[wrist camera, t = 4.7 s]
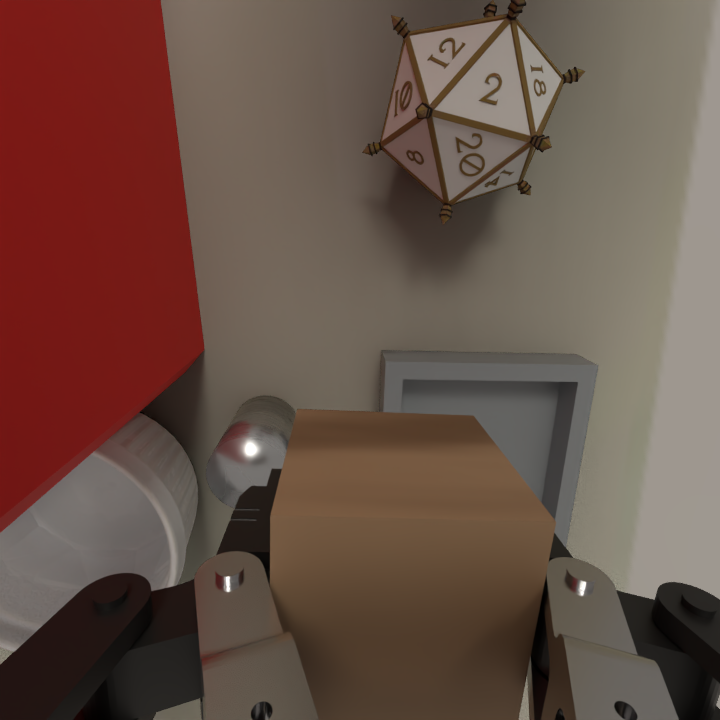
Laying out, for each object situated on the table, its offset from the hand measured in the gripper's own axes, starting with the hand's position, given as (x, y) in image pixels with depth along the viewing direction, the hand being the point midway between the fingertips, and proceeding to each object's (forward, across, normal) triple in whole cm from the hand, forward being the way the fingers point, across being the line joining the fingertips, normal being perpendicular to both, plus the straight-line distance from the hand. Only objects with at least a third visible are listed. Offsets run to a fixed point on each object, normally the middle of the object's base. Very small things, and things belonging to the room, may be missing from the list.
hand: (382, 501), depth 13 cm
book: (+15, +14, -12) cm, 24 cm away
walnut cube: (+1, 0, 0) cm, 1 cm away
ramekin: (+15, +16, +8) cm, 23 cm away
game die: (+15, -4, -13) cm, 20 cm away
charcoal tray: (+15, -8, +8) cm, 18 cm away
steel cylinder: (+15, +6, +4) cm, 16 cm away
